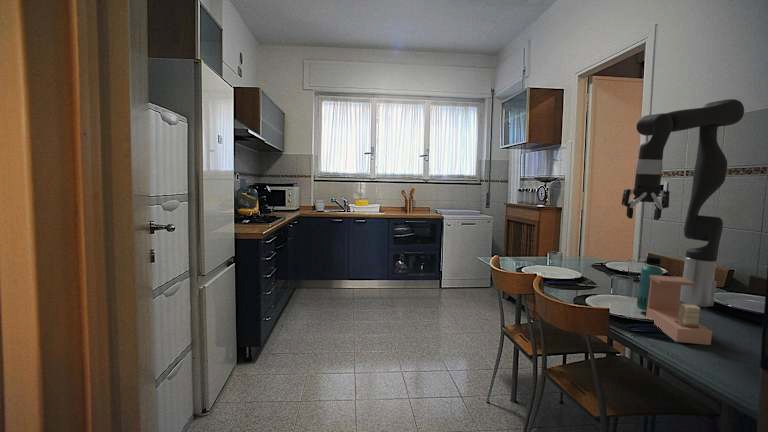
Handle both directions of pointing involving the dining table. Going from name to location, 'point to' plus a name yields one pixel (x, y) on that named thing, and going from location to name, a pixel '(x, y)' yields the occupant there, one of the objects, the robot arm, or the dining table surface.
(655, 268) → the beverage bottle
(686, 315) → the peg
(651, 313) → the socket stand
